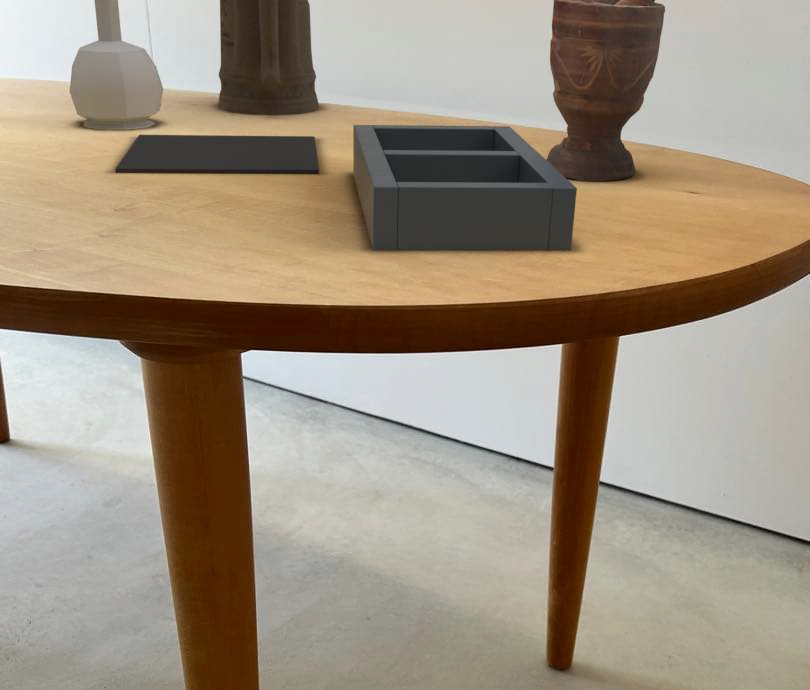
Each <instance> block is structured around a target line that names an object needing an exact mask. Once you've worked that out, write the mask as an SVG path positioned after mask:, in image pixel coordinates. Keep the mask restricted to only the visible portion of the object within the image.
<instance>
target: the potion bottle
mask: <svg viewBox="0 0 810 690" xmlns="http://www.w3.org/2000/svg"><path fill="white" fill-rule="evenodd" d="M119 9H120V8H119V0H94V11H95V19H96V30H97V39H98V40H95V41H92V42H90V43H88V44H85V45H83V46H80V47H78V50H77V53H76V55H75V57H74V60H73V61H72V62H73V63H72V64H71V73H70V81H69V82H70V83H69V95H70V97H71V100H72V104H73V105H74V109H75V112H76V115H78V116H80V117H81V118H84V119H85V120H84V121H83V127H84V128H89V129H94V130H103V131H105V130H106V131H107V130H109V131H128V130H129V131H130V130H137V129H147V128H150V127H152V126H154V125H156V122H155V121H152V120H150V119H149V118H150V117H152V116H154V115H156V114H158V113H159V112H161V106H162V100H163V93H164V87H163V83H162V80H161V76H160V74H159V70H158V68H157V65H156V64H155V62H154V61H153V59H152V58H151V56H150V55H149V53H148V52H147V50H146V48H143V47H140V46H138V45H135V44H132V43H129V42H126V41H124V40H122V30H121V20H120V19H121V18H120V10H119Z"/></svg>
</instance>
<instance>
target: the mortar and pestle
mask: <svg viewBox="0 0 810 690" xmlns="http://www.w3.org/2000/svg"><path fill="white" fill-rule="evenodd" d="M655 1H656V0H553V7H552V18H551V19H552V20H551V39H550V43H549V44H550V45H549V46H550V48H549V67H550V71H551V76H552V79H553V88H554V91H553V92H552V97H553V100H554V103H555V106H556V108H557V110H558V111H559V113H560V115H561V117H562V118H563V120H564V122H565V124H566V125H567V127H566V133H567V134H566V135H567V137H564V138H563V139H562V140H561V142H560V143H558V144H555V145H553V147H551V148H550V149H549V152H548V155H547V158H546V160H547V161H548V162H549V163H550V164H551V165H552V166H553V167H554V168H555V169H556V170H558V171H559V172H560V173H561V174H562V175H563V176H564V177H565V178H566V179H570V180H573V181H574V180H575V181H584V182H611V181H621V180H625V179H627V178H629V177H632V176H634V175H635V174H636V173H637V171H636V167H635V163H634V158H633V155H632V152H631V151H630V150H628V149H627V148H626V146H625V144H624V143H623V141H622V139H621V137H622V131H623V128H624V127H625V125H626V124H627V123H628V122H629V120H630V119H631V118H632V117H634V115H635V114H637V113H638V112H639V111H640V110H641V108H642V106H643V104H644V100H645V93H646V92H647V89H648V87H649V85H650V83H651V80H652V79H653V77H654V74H655V69H656V65H657V62H658V58H659V52H660V46H661V45H660V44H661V37H662V33H663V27H664V19H665V18H664V17H665V12H666V6H665V5H664V4H663V3H658V2H655Z"/></svg>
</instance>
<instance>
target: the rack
mask: <svg viewBox="0 0 810 690" xmlns="http://www.w3.org/2000/svg"><path fill="white" fill-rule="evenodd" d="M352 127H353V129H352V130H353V145H352V146H353V147H352V149H353V150H352V151H353V157H352V158H353V162H352V164H353V172H352V173H353V174H352V175H353V176H352V177H353V179H354V183H355V187H356V190H357V194H358V199H359V202H360V206H361V210H362V213H363V214H362V215H363V218H364V221H365V225H366V229H367V232H368V236H369V240H370V244H371V248H372V251H572V244H573V243H572V242H573V234H574V233H573V232H574V222H575V213H576V201H577V193H578V192H577V190H578V188H577V186H575V185H574V184H573V183H572V182H571V181H569V180H568V178H565V177H564V176H563V175H562V174H561V173H560V172H559V171H558V170H556V169H555V168H554V167H553V166H552V165H551V164H550V163H549V162H548V161H547V158H545V157H543V156H542V155H541V154H540V153H539V152H538V151H537V150H536V149H535V148H534V147H533V146H532V145H530V143H528V142H527V141H526V140H525V139H524V138H523V137H522V136H521V135H520V134H518V132H517V131H515V130H514V129H513V128H512V127H511V126H509V125H508V126H506V125H505V126H501V125H498V126H497V125H418V124H417V125H416V124H415V125H414V124H413V125H411V124H410V125H409V124H400V125H399V124H353V126H352Z"/></svg>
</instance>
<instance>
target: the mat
mask: <svg viewBox="0 0 810 690" xmlns="http://www.w3.org/2000/svg"><path fill="white" fill-rule="evenodd" d="M316 144H317V143H316V137H315V136H313V135H310V136H307V135H303V136H302V135H215V134H213V135H211V134H210V135H209V134H207V135H206V134H202V135H201V134H191V135H190V134H138V136H137V138H136V139H135V140H134V142H133V143H132V144H131V146H130V147H129V149H128V150H127V152H126V153H125V155H124V156H123V157H122V158H121V160H120V162H119V163H118V165H117V166H116V167H115V173H116V174H213V175H214V174H219V175H220V174H221V175H222V174H223V175H224V174H230V175H231V174H235V175H239V174H240V175H242V174H243V175H253V174H254V175H319V174H320V168H319V161H318V154H317V153H318V152H317V145H316Z"/></svg>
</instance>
